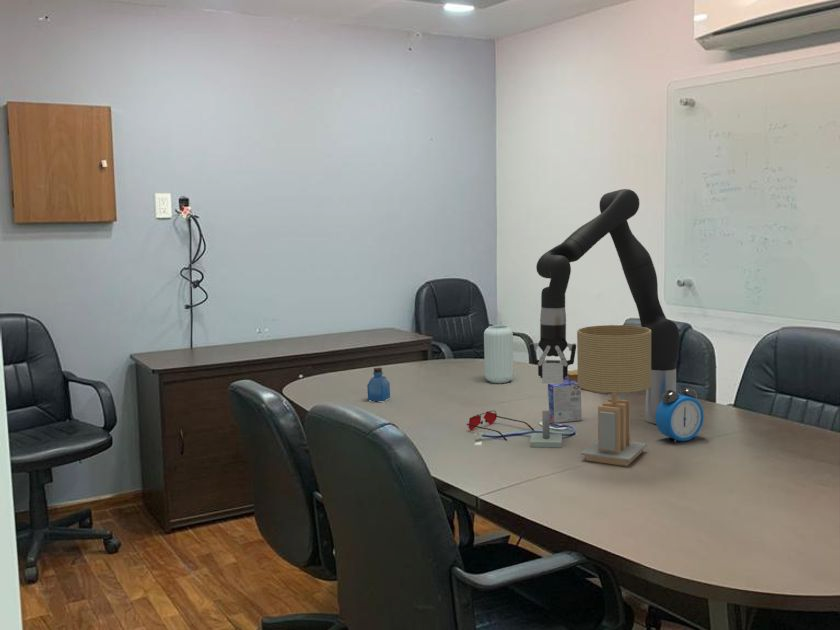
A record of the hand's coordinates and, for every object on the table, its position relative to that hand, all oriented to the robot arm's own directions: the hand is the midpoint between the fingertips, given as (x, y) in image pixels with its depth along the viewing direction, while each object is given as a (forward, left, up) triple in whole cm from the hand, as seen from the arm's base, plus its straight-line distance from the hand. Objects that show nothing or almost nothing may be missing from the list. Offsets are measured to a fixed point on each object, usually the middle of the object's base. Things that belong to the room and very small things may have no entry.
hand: (552, 377), depth 239 cm
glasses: (+17, -6, -19) cm, 26 cm away
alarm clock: (-36, 0, -19) cm, 41 cm away
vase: (+23, -78, -18) cm, 83 cm away
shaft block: (+2, +6, -18) cm, 19 cm away
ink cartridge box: (-3, -20, -19) cm, 27 cm away
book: (-15, -69, -19) cm, 74 cm away
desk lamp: (-17, +18, -18) cm, 31 cm away
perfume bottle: (+65, -45, -19) cm, 81 cm away
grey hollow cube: (0, 0, -1) cm, 1 cm away
